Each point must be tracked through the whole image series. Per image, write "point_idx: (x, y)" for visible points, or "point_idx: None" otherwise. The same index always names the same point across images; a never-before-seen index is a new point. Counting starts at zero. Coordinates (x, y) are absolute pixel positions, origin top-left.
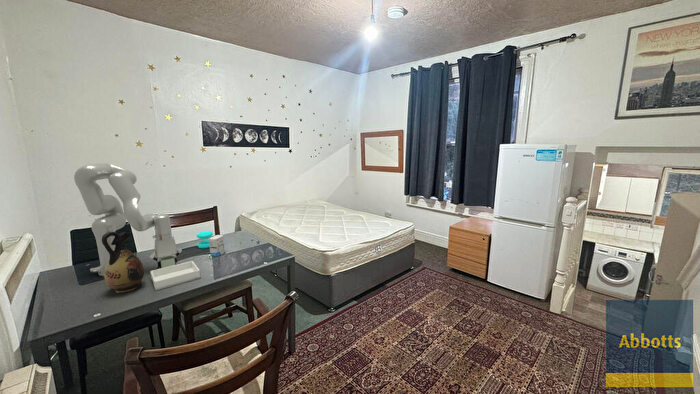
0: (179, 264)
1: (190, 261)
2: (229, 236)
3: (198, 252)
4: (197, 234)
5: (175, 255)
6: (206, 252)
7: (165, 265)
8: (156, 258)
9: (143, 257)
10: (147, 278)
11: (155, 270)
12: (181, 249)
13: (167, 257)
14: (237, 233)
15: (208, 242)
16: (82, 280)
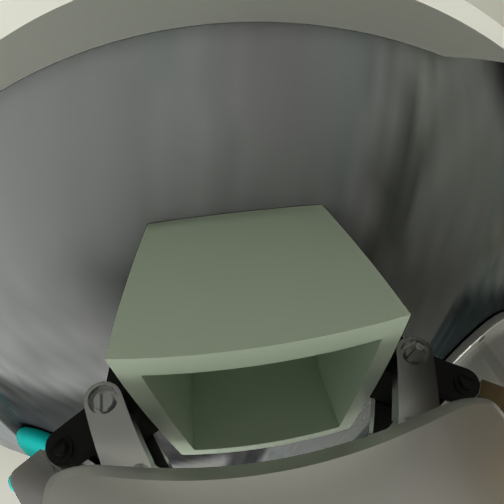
0: (16, 2)
1: None
2: (13, 445)
3: (53, 417)
4: None
5: (100, 431)
6: (7, 392)
7: (296, 253)
8: (443, 394)
9: (333, 443)
10: (463, 105)
11: (490, 19)
12: (18, 492)
13: (247, 429)
14: (3, 444)
15: (29, 452)
16: None
